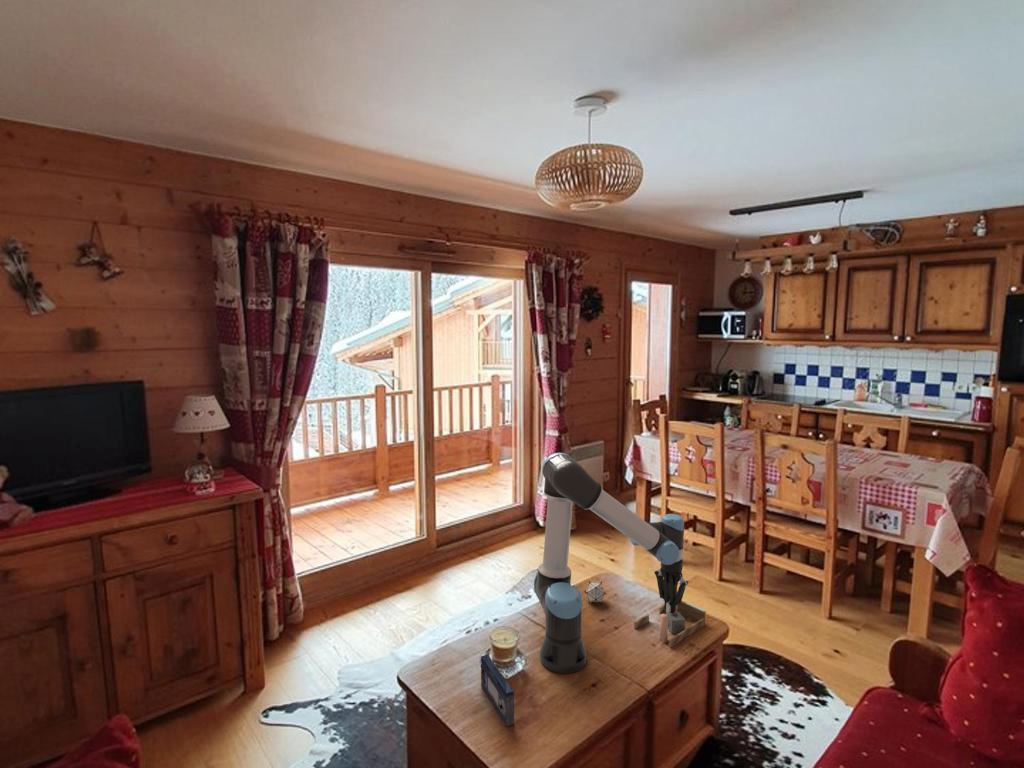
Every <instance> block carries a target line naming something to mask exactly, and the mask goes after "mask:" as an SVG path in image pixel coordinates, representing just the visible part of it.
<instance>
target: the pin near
mask: <svg viewBox="0 0 1024 768" xmlns="http://www.w3.org/2000/svg"><path fill="white" fill-rule="evenodd" d="M659 627H660V630H659V631H660V632H659V642H662V643H667V642H668V631H669V630H668V615H666V613H662V614H660V626H659Z"/></svg>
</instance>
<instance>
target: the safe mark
mask: <svg viewBox="0 0 1024 768" xmlns="http://www.w3.org/2000/svg"><path fill="white" fill-rule="evenodd" d="M686 605H689V606H691V607H693V608H695V609H698V610H700V611H702V612H705V611H706V610H705V609H703V608H700V607H699V606H696V605H694V604H692V603H690V602H688V601H687V602H686Z"/></svg>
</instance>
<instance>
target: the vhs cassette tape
mask: <svg viewBox="0 0 1024 768" xmlns="http://www.w3.org/2000/svg"><path fill="white" fill-rule="evenodd" d="M480 678H481V679H480V680H481V688H482V690H483V691H484V694H485V695H486V696H487V698H488V700H489V701H490V703H491V705H492V706H493V708H494V710H495V711H496V713H497V714H498V716H499V718H500V719H501V720H502V722H503V724H504V726H505V727H506V728H507V727H510V726H512V725H515V691H514V689H513V688H512V687H511V685H510V683H509V682H508V681H507V680H506V677H505V676H504V675H503V674H502V672H500V669H499V668H498V667H497V665H496V664H495V663H494V661H493V660H492V659H491V658H490V656H489V654H485V655H480Z"/></svg>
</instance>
